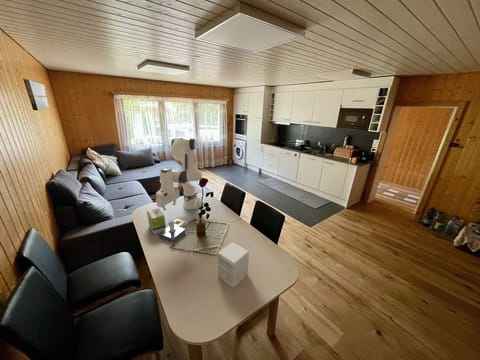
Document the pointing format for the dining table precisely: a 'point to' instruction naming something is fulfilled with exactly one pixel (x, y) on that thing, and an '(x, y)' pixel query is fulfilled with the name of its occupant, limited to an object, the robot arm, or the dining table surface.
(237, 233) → the dining table surface
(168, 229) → the port block
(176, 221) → the holster
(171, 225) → the plug peg
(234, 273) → the supplement box
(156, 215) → the tea box
